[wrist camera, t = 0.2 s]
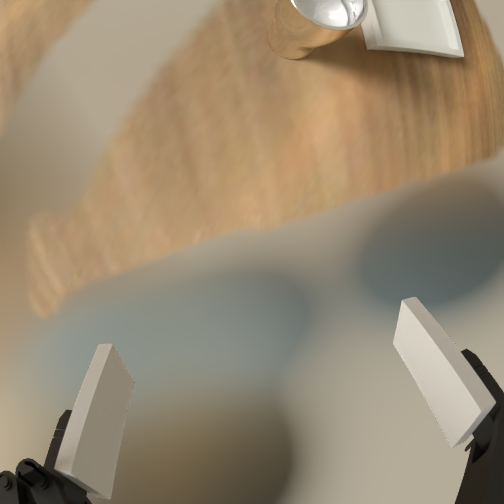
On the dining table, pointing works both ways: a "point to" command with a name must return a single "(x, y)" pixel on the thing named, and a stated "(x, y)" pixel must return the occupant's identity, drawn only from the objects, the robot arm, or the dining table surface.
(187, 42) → the dining table surface
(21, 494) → the robot arm
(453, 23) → the tray
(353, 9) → the beer glass
